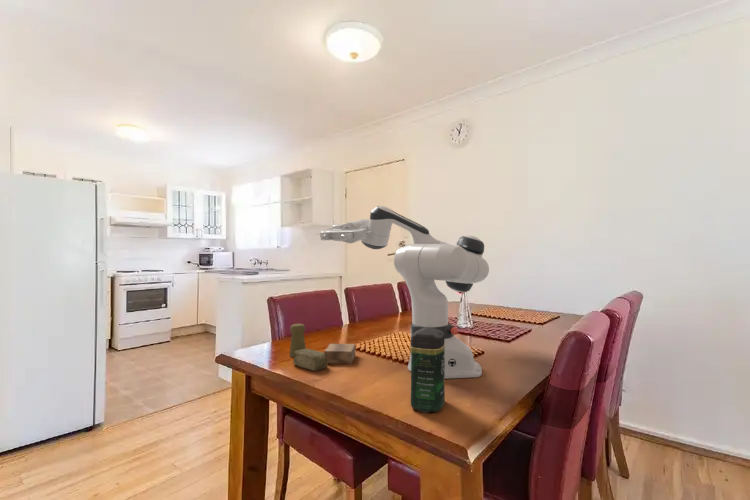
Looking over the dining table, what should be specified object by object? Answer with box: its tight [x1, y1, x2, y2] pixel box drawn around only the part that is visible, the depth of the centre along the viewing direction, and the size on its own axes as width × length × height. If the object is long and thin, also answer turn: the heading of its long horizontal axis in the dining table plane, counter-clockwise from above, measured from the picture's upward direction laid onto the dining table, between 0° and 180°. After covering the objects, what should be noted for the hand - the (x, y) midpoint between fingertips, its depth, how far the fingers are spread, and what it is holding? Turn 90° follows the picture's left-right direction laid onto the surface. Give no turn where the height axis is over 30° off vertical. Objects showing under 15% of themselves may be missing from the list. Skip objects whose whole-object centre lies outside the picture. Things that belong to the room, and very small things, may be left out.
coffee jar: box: [410, 327, 446, 413], centre depth 90 cm, size 10×8×19 cm
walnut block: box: [323, 343, 356, 365], centre depth 127 cm, size 9×9×4 cm
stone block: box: [292, 348, 329, 371], centre depth 120 cm, size 6×12×5 cm, turn 51°
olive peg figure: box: [289, 323, 307, 358], centre depth 132 cm, size 6×6×11 cm
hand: (333, 237), depth 145 cm, fingers open, 8 cm apart
